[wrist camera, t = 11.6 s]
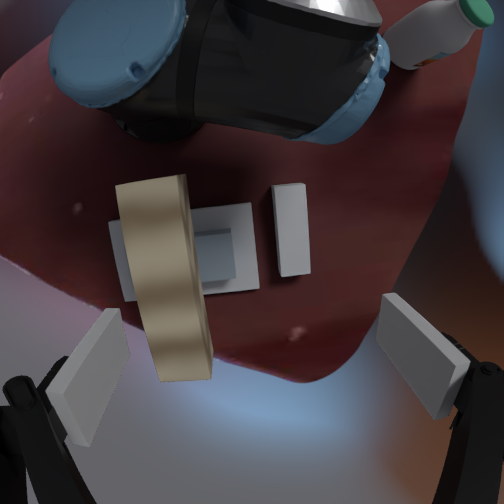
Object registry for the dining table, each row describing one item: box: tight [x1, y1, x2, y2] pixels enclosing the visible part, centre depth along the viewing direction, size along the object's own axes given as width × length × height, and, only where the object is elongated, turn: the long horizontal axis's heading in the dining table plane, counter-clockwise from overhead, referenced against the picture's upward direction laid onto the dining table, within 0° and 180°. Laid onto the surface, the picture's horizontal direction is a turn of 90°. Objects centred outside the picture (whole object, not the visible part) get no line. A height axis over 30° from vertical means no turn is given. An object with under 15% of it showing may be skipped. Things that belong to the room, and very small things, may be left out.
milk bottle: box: [383, 0, 494, 70], centre depth 27 cm, size 8×8×20 cm
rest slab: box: [271, 183, 310, 277], centre depth 42 cm, size 12×4×3 cm, turn 6°
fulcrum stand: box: [108, 202, 259, 302], centre depth 40 cm, size 12×20×8 cm, turn 96°
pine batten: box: [115, 174, 213, 382], centre depth 33 cm, size 22×6×6 cm, turn 6°
